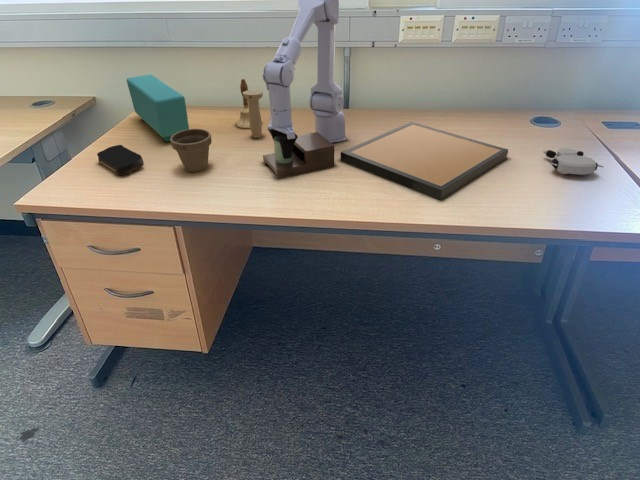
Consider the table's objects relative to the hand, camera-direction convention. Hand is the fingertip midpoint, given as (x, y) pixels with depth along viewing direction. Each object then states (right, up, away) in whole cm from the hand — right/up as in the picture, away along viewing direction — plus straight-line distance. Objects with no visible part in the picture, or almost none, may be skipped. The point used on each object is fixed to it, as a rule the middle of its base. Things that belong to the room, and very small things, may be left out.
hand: (283, 154), depth 133 cm
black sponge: (-49, -3, +6) cm, 50 cm away
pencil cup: (0, -1, +1) cm, 2 cm away
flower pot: (-26, -4, +3) cm, 27 cm away
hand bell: (-16, +17, +33) cm, 40 cm away
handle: (-11, +10, +23) cm, 27 cm away
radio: (-46, +15, +31) cm, 57 cm away
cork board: (+42, -1, +5) cm, 42 cm away
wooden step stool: (+4, -2, +4) cm, 6 cm away
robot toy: (+82, -5, -1) cm, 82 cm away
